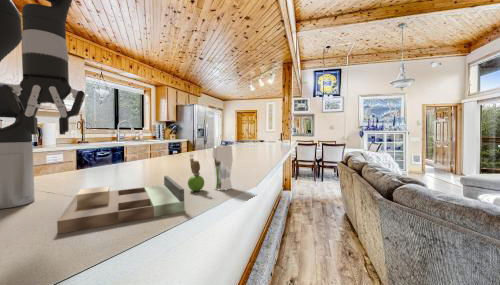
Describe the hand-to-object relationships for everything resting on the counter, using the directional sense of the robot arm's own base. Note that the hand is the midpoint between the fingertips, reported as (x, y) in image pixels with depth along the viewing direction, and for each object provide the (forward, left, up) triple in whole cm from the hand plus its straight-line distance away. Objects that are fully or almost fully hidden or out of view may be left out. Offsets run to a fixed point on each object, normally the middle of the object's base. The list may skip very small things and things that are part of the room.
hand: (48, 134), depth 49 cm
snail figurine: (+20, +31, -19) cm, 41 cm away
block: (+6, +6, -17) cm, 19 cm away
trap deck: (+11, +11, -19) cm, 24 cm away
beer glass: (+28, +36, -19) cm, 49 cm away
